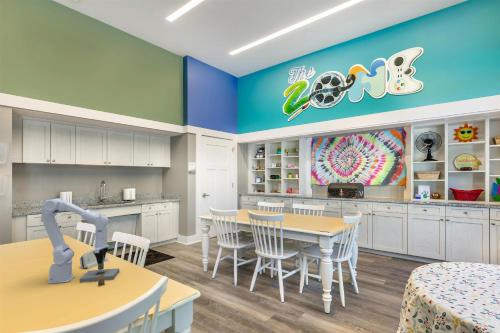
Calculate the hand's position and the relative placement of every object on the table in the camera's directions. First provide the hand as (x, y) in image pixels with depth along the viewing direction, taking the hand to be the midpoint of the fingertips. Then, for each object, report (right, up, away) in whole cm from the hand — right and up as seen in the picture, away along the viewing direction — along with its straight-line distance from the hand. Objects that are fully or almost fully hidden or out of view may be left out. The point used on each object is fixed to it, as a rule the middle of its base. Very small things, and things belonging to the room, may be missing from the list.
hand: (100, 262), depth 142 cm
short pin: (+7, -7, -11) cm, 15 cm away
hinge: (-16, -9, +20) cm, 28 cm away
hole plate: (0, -8, 0) cm, 8 cm away
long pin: (0, -3, 0) cm, 3 cm away
